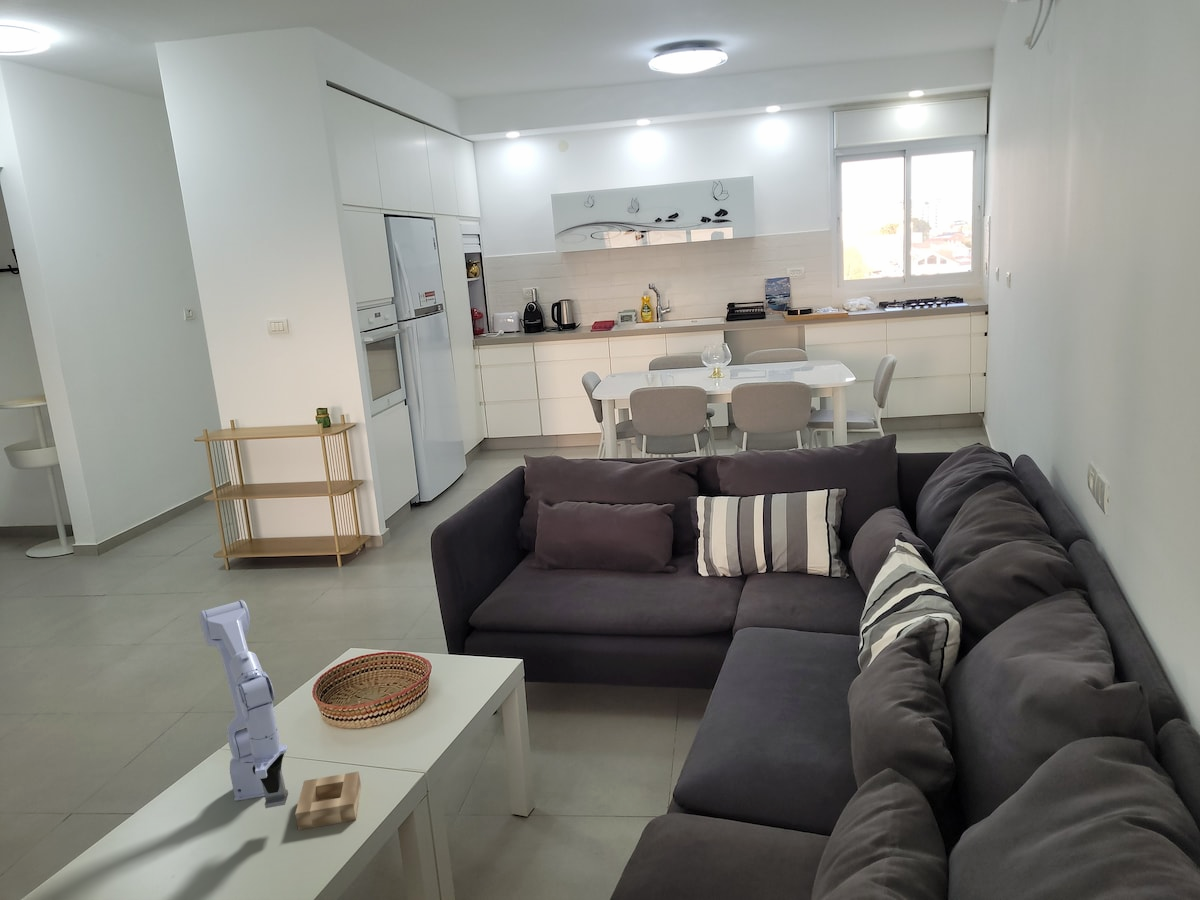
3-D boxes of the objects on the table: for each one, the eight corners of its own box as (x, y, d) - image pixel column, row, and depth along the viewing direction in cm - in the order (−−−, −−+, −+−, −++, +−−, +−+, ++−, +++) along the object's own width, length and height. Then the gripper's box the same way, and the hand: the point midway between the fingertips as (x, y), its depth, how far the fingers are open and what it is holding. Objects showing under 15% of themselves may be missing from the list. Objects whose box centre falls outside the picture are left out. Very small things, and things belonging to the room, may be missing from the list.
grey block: (265, 808, 188) (259, 779, 186) (269, 797, 192) (262, 768, 190) (284, 804, 189) (278, 775, 187) (288, 793, 192) (282, 765, 191)
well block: (298, 830, 189) (295, 813, 188) (307, 796, 201) (304, 780, 200) (356, 819, 191) (353, 803, 190) (361, 786, 203) (358, 771, 202)
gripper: (276, 747, 180) (287, 806, 183) (288, 711, 194) (299, 766, 197) (240, 753, 179) (252, 812, 182) (255, 716, 193) (266, 771, 196)
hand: (274, 788), depth 190 cm, fingers closed on grey block
